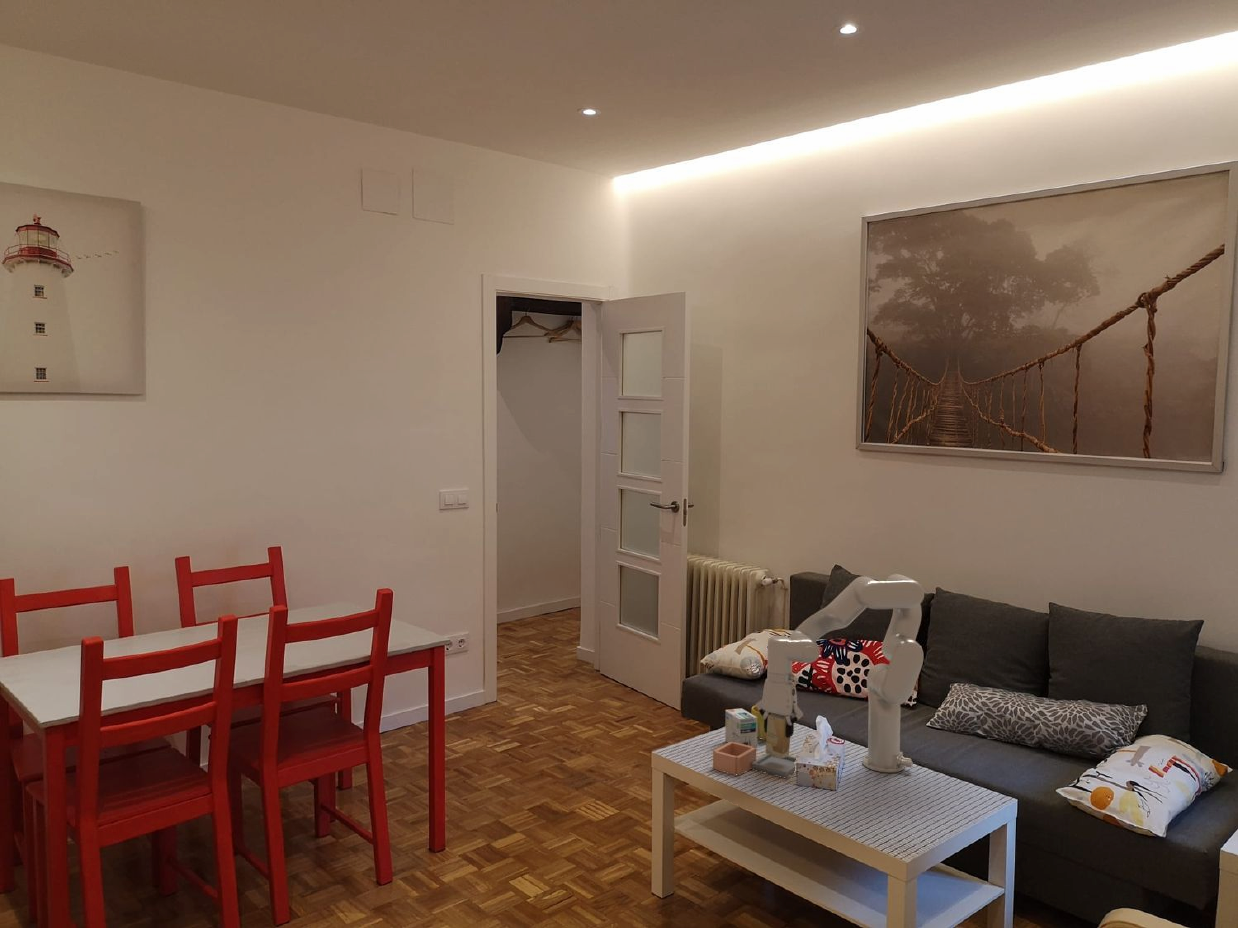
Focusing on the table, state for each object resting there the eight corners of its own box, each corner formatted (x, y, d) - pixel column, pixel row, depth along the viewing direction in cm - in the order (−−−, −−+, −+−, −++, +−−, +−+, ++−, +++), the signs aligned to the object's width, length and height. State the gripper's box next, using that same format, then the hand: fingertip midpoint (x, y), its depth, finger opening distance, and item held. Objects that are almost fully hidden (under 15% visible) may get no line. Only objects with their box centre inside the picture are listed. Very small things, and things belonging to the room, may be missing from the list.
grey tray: (805, 765, 275) (805, 759, 275) (786, 778, 264) (786, 772, 264) (771, 756, 282) (771, 750, 282) (751, 769, 272) (751, 762, 272)
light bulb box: (758, 749, 289) (758, 716, 288) (740, 751, 286) (740, 719, 286) (741, 738, 299) (742, 707, 298) (724, 741, 296) (724, 709, 296)
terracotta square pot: (756, 764, 275) (757, 747, 275) (738, 776, 266) (738, 758, 266) (730, 757, 281) (730, 740, 281) (711, 768, 272) (712, 751, 272)
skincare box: (764, 753, 274) (766, 714, 273) (772, 749, 277) (774, 711, 276) (782, 759, 269) (784, 720, 269) (790, 755, 273) (791, 717, 272)
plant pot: (786, 735, 302) (786, 707, 302) (774, 744, 293) (775, 715, 293) (758, 729, 307) (758, 702, 307) (746, 738, 299) (746, 710, 298)
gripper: (810, 679, 270) (809, 736, 270) (760, 669, 280) (759, 724, 281) (799, 684, 264) (798, 743, 264) (748, 674, 274) (747, 731, 275)
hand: (778, 733), depth 273 cm, fingers closed on skincare box, 6 cm apart
